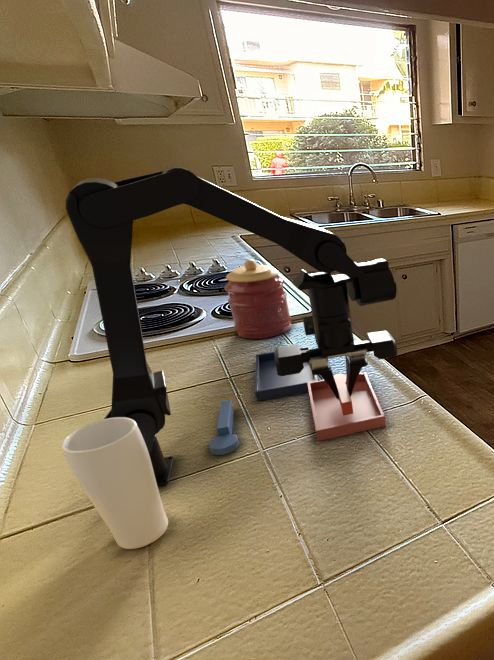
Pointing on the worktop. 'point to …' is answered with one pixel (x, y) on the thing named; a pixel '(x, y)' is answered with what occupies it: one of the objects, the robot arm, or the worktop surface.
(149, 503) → the drinking glass
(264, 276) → the kitchen canister
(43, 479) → the worktop surface
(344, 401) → the terracotta spoon
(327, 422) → the rose tray
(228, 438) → the blue spoon
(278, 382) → the navy tray
